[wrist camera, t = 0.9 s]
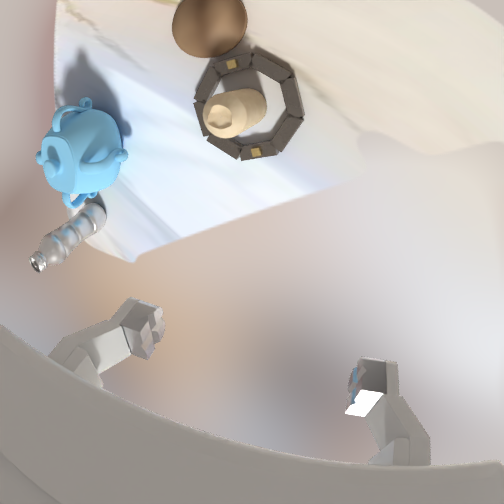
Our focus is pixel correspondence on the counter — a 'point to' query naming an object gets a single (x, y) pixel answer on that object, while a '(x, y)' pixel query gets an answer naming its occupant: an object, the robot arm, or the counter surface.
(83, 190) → the decorative pot
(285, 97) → the collar
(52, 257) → the plastic bottle
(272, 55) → the counter surface
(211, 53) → the coaster
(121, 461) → the robot arm
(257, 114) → the candle
